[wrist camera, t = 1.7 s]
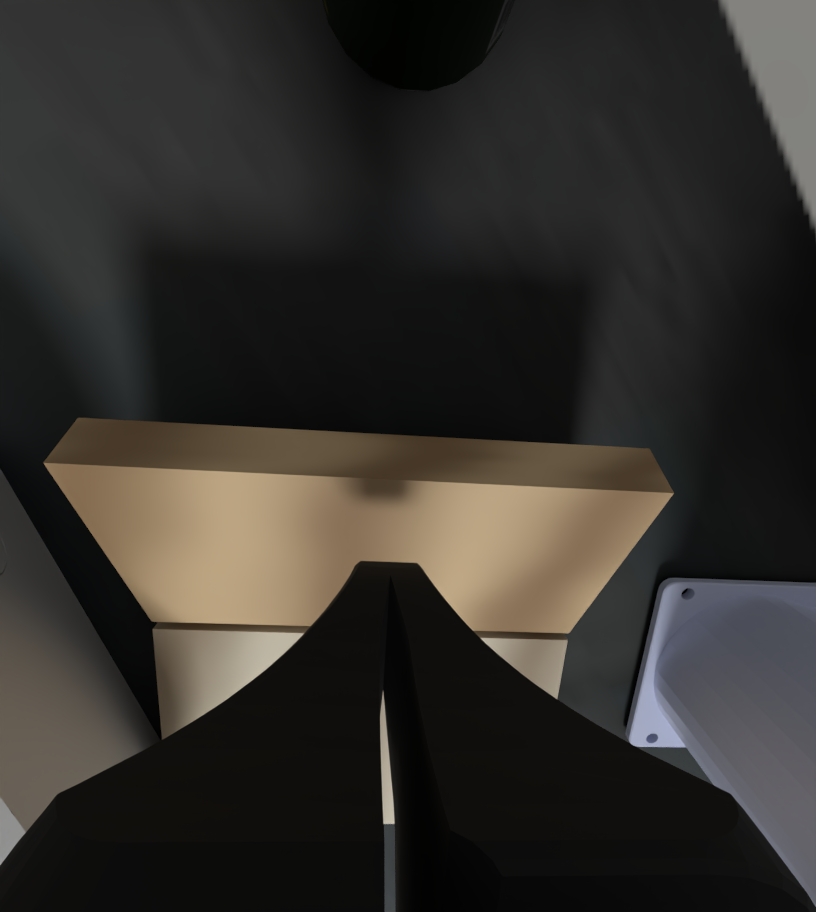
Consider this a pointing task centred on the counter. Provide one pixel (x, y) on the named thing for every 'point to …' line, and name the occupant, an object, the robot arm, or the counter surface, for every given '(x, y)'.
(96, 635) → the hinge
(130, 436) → the plank
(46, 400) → the counter surface
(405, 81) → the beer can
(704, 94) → the counter surface
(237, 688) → the floor board
